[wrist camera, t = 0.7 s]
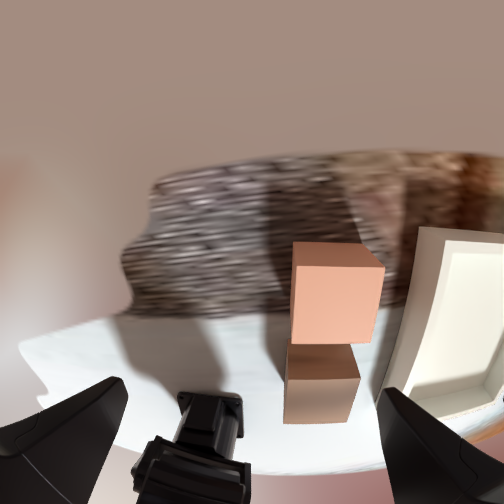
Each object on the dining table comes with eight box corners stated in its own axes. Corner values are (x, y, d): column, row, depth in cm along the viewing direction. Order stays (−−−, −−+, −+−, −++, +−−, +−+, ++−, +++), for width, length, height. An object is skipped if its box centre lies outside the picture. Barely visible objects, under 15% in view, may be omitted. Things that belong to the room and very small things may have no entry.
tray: (480, 383, 22) (494, 404, 18) (374, 404, 23) (383, 433, 20) (530, 236, 17) (556, 248, 13) (418, 226, 18) (445, 240, 14)
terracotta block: (353, 306, 21) (370, 342, 16) (289, 305, 21) (291, 343, 16) (362, 243, 19) (385, 267, 14) (293, 241, 20) (296, 265, 15)
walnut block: (338, 382, 23) (346, 422, 18) (284, 382, 23) (283, 423, 19) (348, 338, 21) (360, 378, 17) (287, 338, 22) (288, 379, 17)
